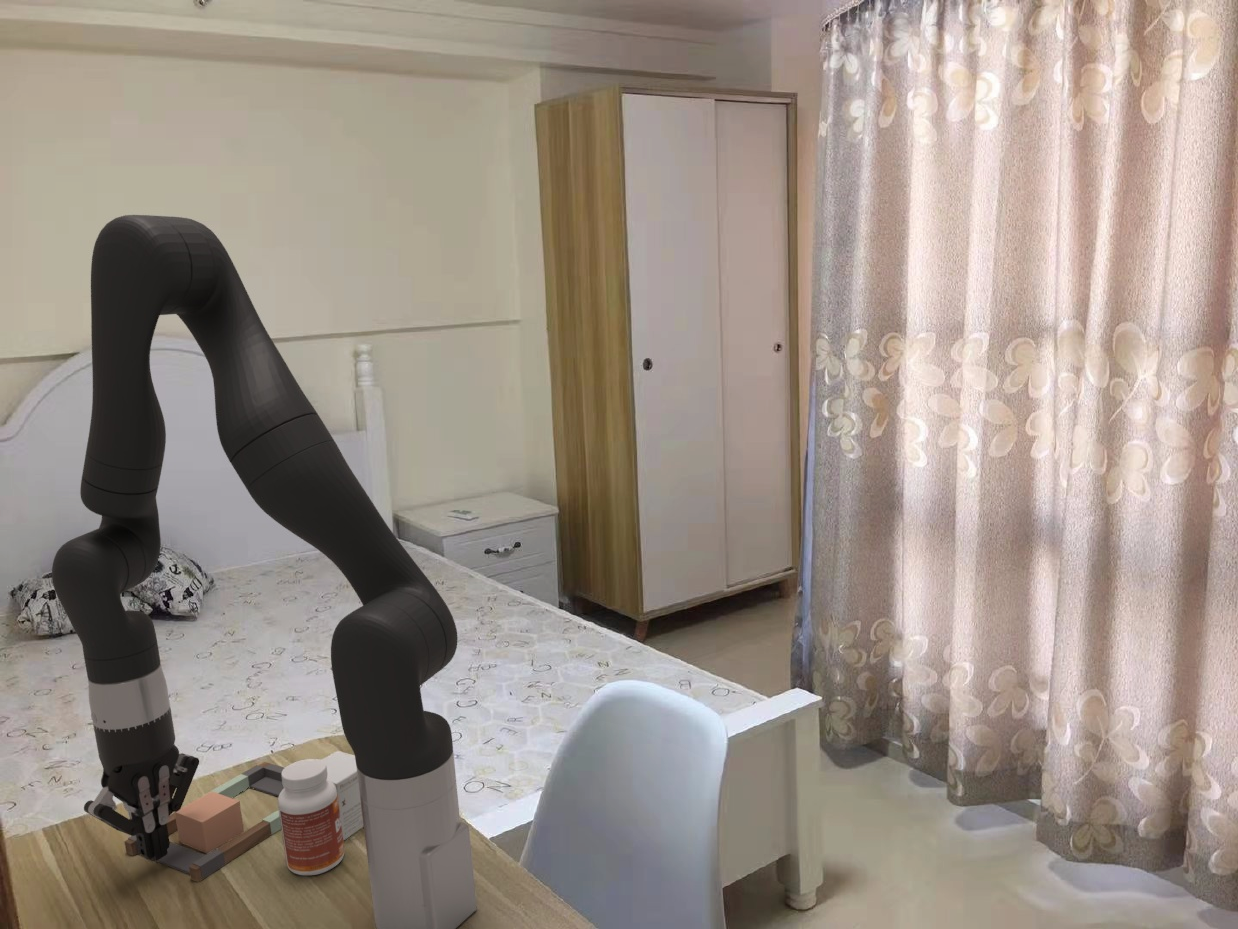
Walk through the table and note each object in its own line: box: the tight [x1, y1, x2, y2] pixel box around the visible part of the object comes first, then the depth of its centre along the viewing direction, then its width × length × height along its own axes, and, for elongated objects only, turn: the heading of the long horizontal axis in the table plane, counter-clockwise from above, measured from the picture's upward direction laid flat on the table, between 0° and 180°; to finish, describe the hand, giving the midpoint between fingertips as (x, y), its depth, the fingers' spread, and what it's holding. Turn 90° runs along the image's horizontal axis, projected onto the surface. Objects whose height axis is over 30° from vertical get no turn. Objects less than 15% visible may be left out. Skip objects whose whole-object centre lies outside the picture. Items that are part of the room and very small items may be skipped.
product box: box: [320, 750, 364, 841], centre depth 122 cm, size 6×6×7 cm
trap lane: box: [124, 761, 285, 883], centre depth 124 cm, size 12×20×2 cm, turn 149°
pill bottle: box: [277, 758, 345, 876], centre depth 114 cm, size 6×6×11 cm
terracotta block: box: [174, 790, 245, 855], centre depth 121 cm, size 5×5×4 cm
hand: (156, 856), depth 115 cm, fingers closed
